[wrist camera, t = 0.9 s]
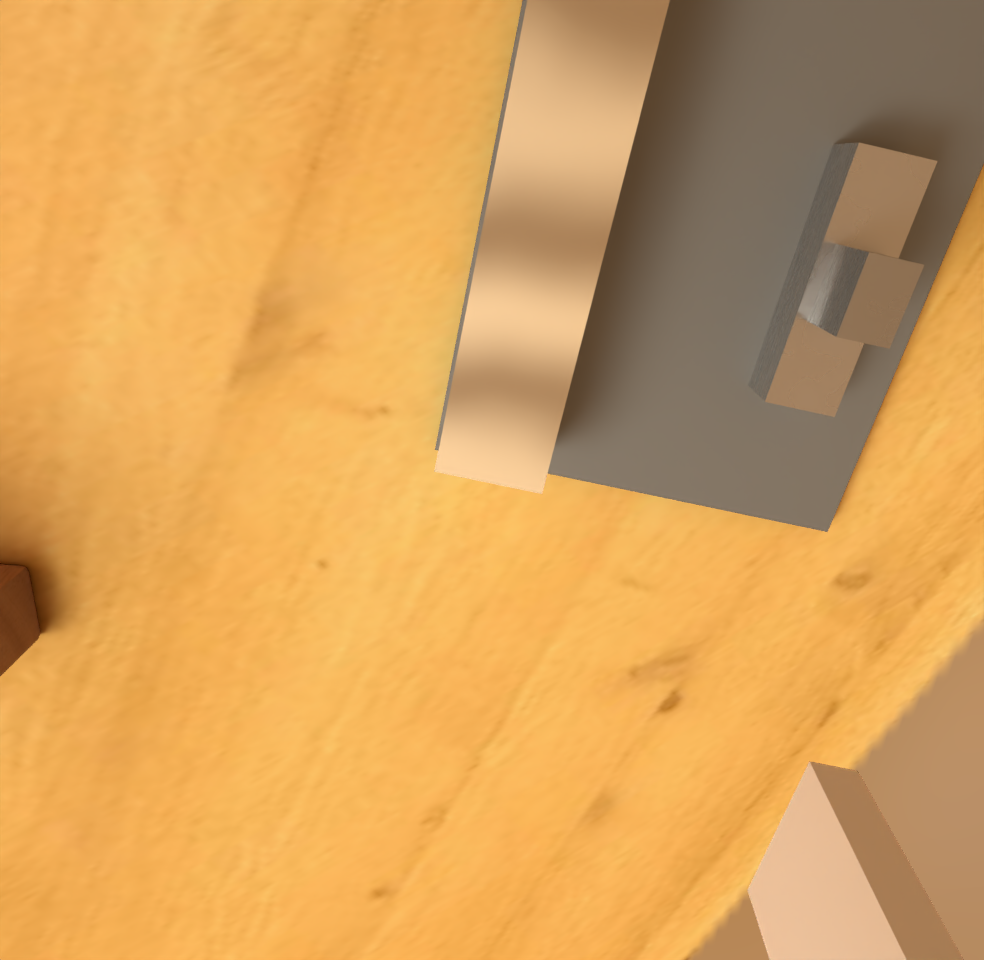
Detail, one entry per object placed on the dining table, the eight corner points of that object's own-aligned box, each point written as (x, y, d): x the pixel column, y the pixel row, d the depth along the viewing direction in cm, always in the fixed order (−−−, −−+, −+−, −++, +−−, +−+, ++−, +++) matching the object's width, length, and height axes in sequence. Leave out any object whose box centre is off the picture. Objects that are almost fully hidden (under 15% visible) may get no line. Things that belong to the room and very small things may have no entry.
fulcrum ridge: (832, 144, 30) (896, 140, 25) (905, 161, 30) (983, 160, 25) (748, 385, 34) (788, 424, 29) (813, 399, 34) (864, 441, 29)
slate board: (545, -110, 28) (546, -119, 27) (1033, 11, 29) (1050, 6, 28) (437, 442, 37) (434, 449, 36) (819, 522, 37) (827, 531, 37)
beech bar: (547, -84, 28) (553, -134, 23) (665, -55, 28) (695, -99, 23) (445, 431, 35) (434, 471, 31) (538, 450, 35) (542, 493, 31)
